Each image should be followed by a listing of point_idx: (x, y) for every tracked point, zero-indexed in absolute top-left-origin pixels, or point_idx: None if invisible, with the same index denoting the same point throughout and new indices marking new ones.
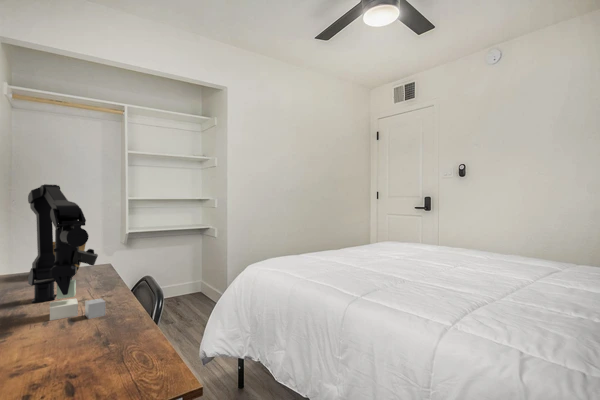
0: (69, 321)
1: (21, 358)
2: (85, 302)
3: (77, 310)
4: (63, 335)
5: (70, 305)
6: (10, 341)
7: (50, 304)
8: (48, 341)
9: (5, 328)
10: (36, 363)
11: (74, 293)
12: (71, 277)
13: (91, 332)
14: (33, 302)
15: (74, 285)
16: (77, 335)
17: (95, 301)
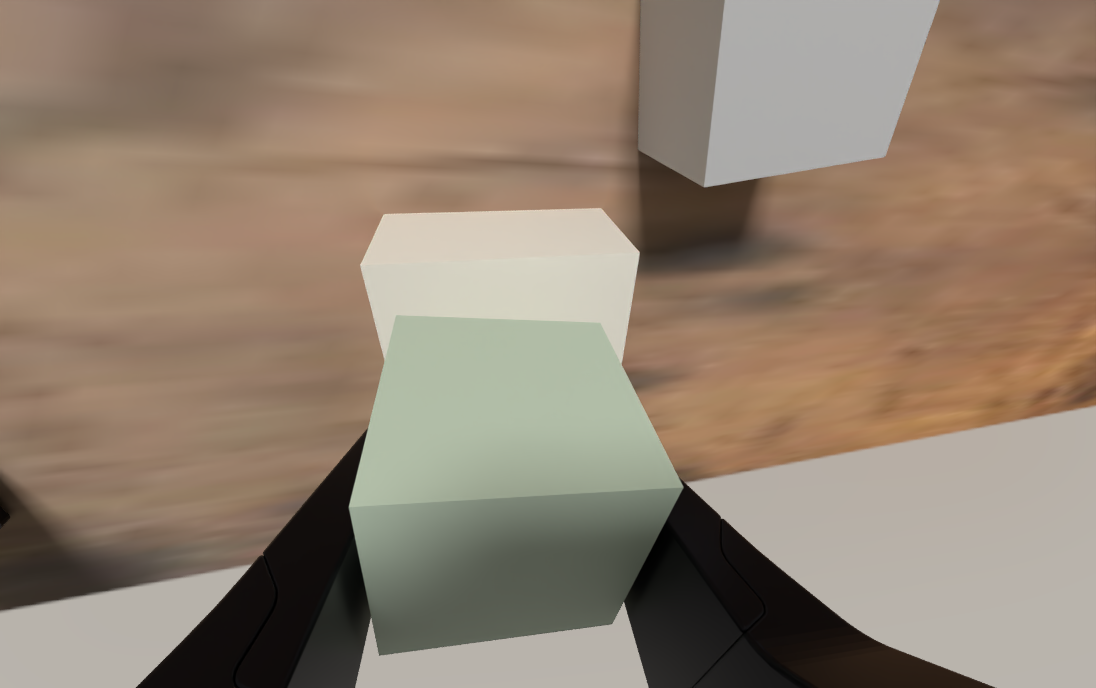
0: (705, 265)
1: (989, 399)
2: (716, 180)
3: (613, 228)
4: (927, 288)
5: (629, 311)
6: (771, 457)
7: None
8: (929, 342)
9: None
10: (1092, 355)
11: (597, 346)
12: (906, 657)
13: (1070, 137)
14: (6, 512)
15: (645, 437)
16: (1013, 221)
17: (839, 53)
